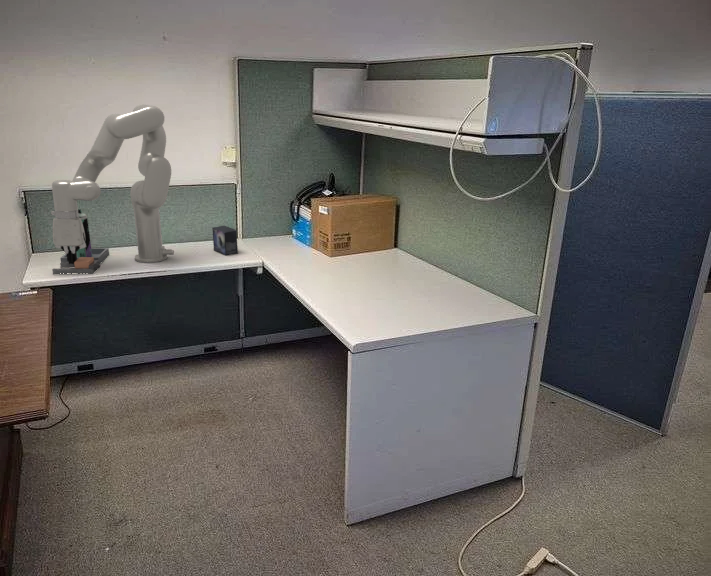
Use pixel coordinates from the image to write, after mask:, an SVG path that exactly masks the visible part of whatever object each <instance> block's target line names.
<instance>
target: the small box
mask: <svg viewBox="0 0 711 576" xmlns="http://www.w3.org/2000/svg"><path fill="white" fill-rule="evenodd" d="M211 228H212V242H213V251H214V252H217V253H219V254H221V255H223V256H232V255H236V254H237V255H238V254H239V252H238V250H239V249H238V236H237V235H238V233H237V232H238V231H237V229H235V228H232V227H229V226H227V225H220V226H214V227H211Z"/></svg>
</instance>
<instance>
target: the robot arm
mask: <svg viewBox="0 0 711 576" xmlns="http://www.w3.org/2000/svg"><path fill="white" fill-rule="evenodd" d="M164 123H165V115H164V112H163V111H162V109H160V108H159V107H157V106H155V105H149V104H139V105H136V106H135V107H134V108H133V109H132V111H131V112H128V113H124V114H119V113H112V114H110V115H108V116H106V118H105V119H104V121H103V124H102V126H101V128H100V130H99V131H98V134H97V137H96V138H95V140H94V142H93V145H92V146H91V149H90V150H89V151H88V153H87V154H86V155H85V157H84V159H82V161H81V162H80V164H79V166H78V168H77V170H76V172H75V174H74V176H73V179H72V180H70V179H68V180H67V179H58V180H54V181H52V183H51V189H52V190H51V191H52V198H53V199H52V200H53V205H54V206H53V207H54V210H51V212H50V215H52V216H54V218H53V220H52V242H53V245H54V248H57V249H61V250H62V251H64V254H67V261H69V264H74V262H75V261H76V260H77V254H76V252H77V251H78V250H79V249H82V248H85V247H86V244H85V241H86V239H85V232H84V227H83V224H82V221H81V218H79V215H78V209H79V208H78V207H79V206H78V201H83V202H84V201H86V202H91V201H96V200H97V199H98V198H99V197H100V195H101V192H102V190H101V186H99V184H98V183H97V179H98V178H99V175H100V174H101V172H102V171H103V170H104V169H105V168H107V166H109V165H111V164H113V162H115V160H116V158H117V155H118V153H119V151H120V149H121V148H122V145H123V143H124V141H125V140H129V139H133V138H136V137H140V136H142V144H141V150H140V155H139V160H138V163H137V164H138V165H137V169H138V171H139V173H140V174H141V175H142V176H143V177H144V179H142V180H138V181H136V182H134V183H133V184H132V186H131V188H130V194H129V195H130V201H131V203H132V209H133V215H134V224H135V225H134V226H135V234H136V242H137V243H136V244H137V254H136V255H135V256H134V261H136V262H139V263H147V264H149V263H157V262H161V261H165V260H167V258H168V256H173V255H175V250H174V249H172V248H168V249H167V248H165V245H163V237H162V225H161V214H160V213H161V212H160V209H159V208H161V207H162V206H163V205H164V204H165V202H166V200H167V197H168V194H169V193H168V192H169V188H170V183H171V177H172V164H170V161H169V160H168V159H167V158H165V153H166V146H167V135H166V131H165V128H164V126H163V125H164ZM71 249H72V252H71Z"/></svg>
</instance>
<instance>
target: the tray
mask: <svg viewBox="0 0 711 576" xmlns="http://www.w3.org/2000/svg"><path fill="white" fill-rule="evenodd" d="M70 249H71V252H72V248H70ZM91 249H92V257H94V260H98V261H99V262H100V265H101V264H102V263H103V262H105V260H106V259H107V258H109V256H110V251H109V250H110V249H109V247H91ZM76 254H77V252H76ZM78 258H80V257H77V259H78ZM59 259H60V263H61V262H69V261H67V254H66V253H64V254H63V255H62V256H60V258H59ZM101 262H102V263H101Z"/></svg>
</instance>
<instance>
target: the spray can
mask: <svg viewBox="0 0 711 576" xmlns="http://www.w3.org/2000/svg"><path fill="white" fill-rule="evenodd" d="M78 215H79V218H81V221H82V224H83V227H84V232H85V239H86V241H85V244H86V247H85V248H82V249H79V250H78V251H77V257H92V249H91V248H92V244H91V242H92V241H91V236H90V229H89V228H90V227H89V222H88V221H89V219H88V216H87V214H86V213H84V212H83V211H82V209H80V208H78Z"/></svg>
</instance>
